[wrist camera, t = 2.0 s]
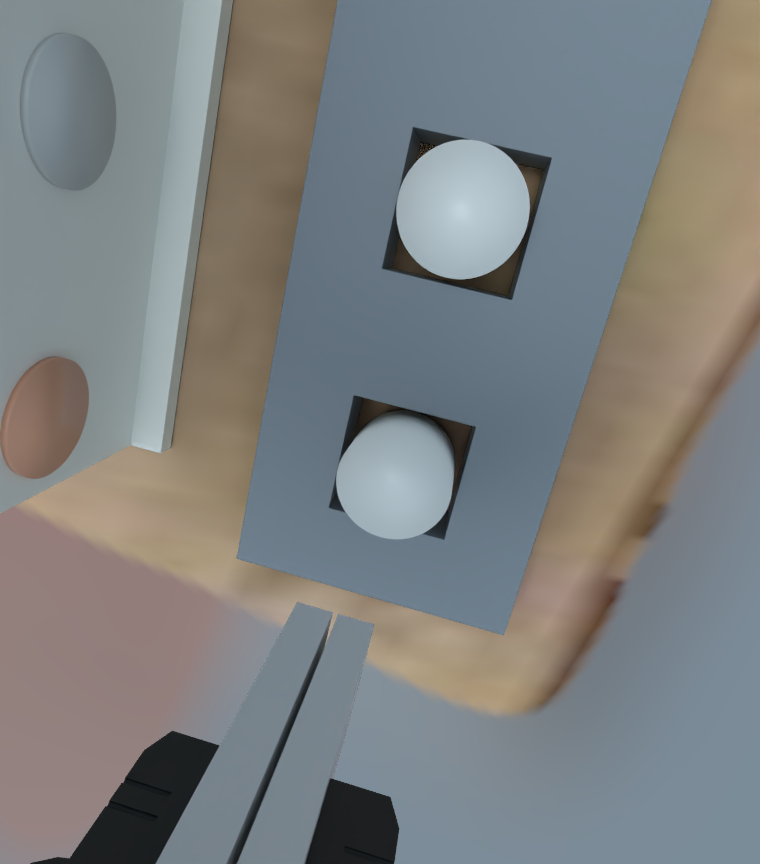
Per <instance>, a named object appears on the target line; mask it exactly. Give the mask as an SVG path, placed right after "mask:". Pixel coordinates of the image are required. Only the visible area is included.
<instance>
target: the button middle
mask: <svg viewBox="0 0 760 864" xmlns="http://www.w3.org/2000/svg"><path fill="white" fill-rule="evenodd" d="M529 212H530V200H529V193H528V188H527V185H526V182H525V179H524V177H523V175H522V173H521V171H520V170H519V168H518V167H517V165H516V164H515V163H514V162H513V160H512V159H511V158H510V157H509V156H508V155H506V154H505V153H504V152H503V151H501V150H500V149H498V148H497V147H495V146H492V145H490V144H488V143H485V142H481V141H477V140H455V141H450V142H447V143H444V144H441V145H439V146H437V147H435V148H433V149H431V150H430V151H428V152H427V153H425V154H424V155H423V156H422V157H420V159H419V160H418V161H417V162H416V163H415V164H414V165H413V166H412V168H411V169H410V170H409V172H408V173H407V175H406V177H405V178H404V181H403V183H402V185H401V188H400V191H399V195H398V199H397V207H396V217H397V225H398V230H399V234H400V236H401V239H402V242H403V244H404V246H405V248H406V249H407V251H408V252H409V254H410V255H411V256H412V257H413V258H414V259H415V261H416V262H417V263H419V264H420V265H421V266H422V267H424V268H425V269H427V270H428V271H430V272H432V273H434V274H436V275H439V276H442V277H445V278H451V279H471V278H475V277H479V276H482V275H484V274H487V273H489V272H491V271H493V270H495V269H496V268H498V267H499V266H500V265H502V264H503V263H504V262H505V261H506V260H507V259H508V258H509V257H510V256H511V255H512V254H513V253H514V252H515V250H516V249H517V247H518V246H519V244H520V242H521V240H522V238H523V236H524V234H525V231H526V228H527V224H528V220H529Z"/></svg>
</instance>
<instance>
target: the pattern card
mask: <svg viewBox="0 0 760 864" xmlns="http://www.w3.org/2000/svg"><path fill="white" fill-rule="evenodd" d="M232 5H233V0H0V513H2V512H4V511H6V510H8V509H10V508H11V507H13V506H15V505H17V504H19V503H21V502H23V501H25V500H27V499H29V498H31V497H32V496H34V495H36V494H38V493H40V492H42V491H44V490H46V489H48V488H50V487H52V486H53V485H55V484H57V483H59V482H61V481H63V480H65V479H67V478H69V477H71V476H73V475H74V474H76V473H78V472H80V471H82V470H84V469H86V468H88V467H90V466H92V465H94V464H95V463H97V462H99V461H101V460H103V459H105V458H107V457H109V456H111V455H113V454H115V453H116V452H118V451H120V450H122V449H124V448H126V447H128V446H130V445H132V446H136V447H139V448H143V449H147V450H150V451H154V452H157V453H162V452H164V451H166V450H167V449H169V448H171V441H172V434H173V427H174V420H175V413H176V406H177V399H178V391H179V384H180V377H181V370H182V363H183V356H184V348H185V341H186V334H187V327H188V320H189V313H190V306H191V298H192V291H193V284H194V277H195V270H196V263H197V256H198V248H199V241H200V234H201V227H202V220H203V213H204V205H205V198H206V191H207V184H208V177H209V170H210V163H211V155H212V148H213V141H214V134H215V127H216V120H217V113H218V105H219V98H220V91H221V84H222V77H223V70H224V62H225V55H226V48H227V41H228V34H229V27H230V20H231V12H232Z"/></svg>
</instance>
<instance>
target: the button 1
mask: <svg viewBox="0 0 760 864" xmlns="http://www.w3.org/2000/svg"><path fill="white" fill-rule="evenodd" d="M454 472H455V454H454V449H453V446H452V444H451V441H450V439H449V438H448V436H447V434H446V433H445V432H444V430H443V429H442V428H441V427H440V426H439V425H438V424H437V423H435V422H434V421H433V420H431V419H430V418H428V417H426V416H424V415H422V414H419V413H416V412H411V411H392V412H387V413H384V414H381V415H379V416H377V417H375V418H374V419H372V420H371V421H369V422H368V423H367V424H366V425H365V426H364V427H363V428H362V429H361V431H360V432H359V433H358V435H357V436H356V438H355V439H354V440H353V442H352V443H351V445H350V446H349V447H348V449H347V450H346V452H345V453H344V455H343V457H342V459H341V461H340V463H339V466H338V470H337V476H336V487H337V493H338V497H339V500H340V502H341V505H342V507H343V508H344V510H345V512H346V513H347V515H348V516H349V517H350V518H351V519H352V521H353V522H354V523H356V524H357V525H358V526H359V527H360V528H362V529H363V530H365V531H367V532H369V533H371V534H373V535H375V536H378V537H382V538H386V539H407V538H412V537H415V536H418V535H420V534H423V533H425V532H426V531H428V530H430V529H431V528H432V527H433V526H435V525H436V524H437V523H438V522H439V521H440V520H441V518H442V517H443V515H444V514H445V512H446V510H447V508H448V506H449V503H450V500H451V495H452V488H453V480H454Z"/></svg>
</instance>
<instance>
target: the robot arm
mask: <svg viewBox="0 0 760 864" xmlns="http://www.w3.org/2000/svg"><path fill="white" fill-rule="evenodd" d="M332 613H333V612H329V611H326V610H323V609H319V608H316V607H312V606H309V605H305V604H302V603H299V602H297V604H296V605H295V607H294V609H293V611H292V613H291V615H290V617H289V618H288V620H287V622H286V624H285V626H284V628H283V629H282V631H281V633H280V635H279V637H278V639H277V641H276V642H275V644H274V646H273V648H272V650H271V652H270V653H269V655H268V657H267V659H266V661H265V663H264V665H263V666H262V668H261V670H260V672H259V674H258V676H257V678H256V679H255V681H254V683H253V685H252V687H251V689H250V690H249V692H248V694H247V696H246V698H245V700H244V702H243V703H242V705H241V707H240V709H239V711H238V713H237V714H236V716H235V718H234V720H233V722H232V724H231V726H230V727H229V729H228V731H227V733H226V735H225V737H224V739H223V740H222V742H221V744H220V746H219V745H216V744H213V743H209V742H206V741H203V740H200V739H196V738H193V737H190V736H187V735H184V734H181V733H177V732H175V731H171V732H170V733H168V734H167V735H166V736H164V737H163V738H161V739H160V740H158V741H157V742H156V743H154V744H153V745H151V746H150V747H148V748H147V749H145V750H144V752H143V753H142V754H141V756H140V757H139V759H138V760H137V762H136V763H135V764H134V766H133V768H132V769H131V770H130V772H129V773H128V775H127V776H126V778H125V781H124V783H121V785H120V786H119V788H118V789H117V791H116V792H115V794H114V795H113V796H112V798H111V799H110V801H109V804H108V806H107V807H105V808H104V809H103V811H102V812H101V814H100V815H99V817H98V818H97V820H96V821H95V822H94V824H93V825H92V827H91V828H90V830H89V831H88V833H87V834H86V836H85V837H84V839H83V840H82V841H81V843H80V844H79V846H78V847H77V848H76V850H75V851H74V853H73V854H72V856H71V857H70V859H69V858H60V857H57V858H52V859H48V860H43V861H38V862H33V863H31V864H394V861H395V854H396V846H397V840H398V833H399V827H398V823H397V819H396V816H395V812H394V809H393V805H392V801H391V798H390V797H389V796H385V795H382V794H379V793H376V792H373V791H369V790H366V789H363V788H360V787H356V786H353V785H350V784H347V783H344V782H341V781H338V780H334V779H333V777H334V774H335V770H336V766H337V763H338V760H339V756H340V753H341V749H342V746H343V742H344V739H345V736H346V732H347V728H348V724H349V720H350V716H351V712H352V708H353V704H354V701H355V697H356V693H357V689H358V685H359V682H360V678H361V674H362V670H363V666H364V662H365V658H366V655H367V651H368V647H369V643H370V639H371V635H372V631H373V628H374V624H371V623H367V622H364V621H360V620H357V619H354V618H350V617H347V616H343V615H340V614H338V616H337V619H336V621H335V624H334V626H333V629H332V631H331V634H330V636H329V639H328V641H327V644H326V646H325V643H326V639H327V635H328V630H329V626H330V622H331V618H332ZM324 647H325V648H324Z"/></svg>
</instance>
